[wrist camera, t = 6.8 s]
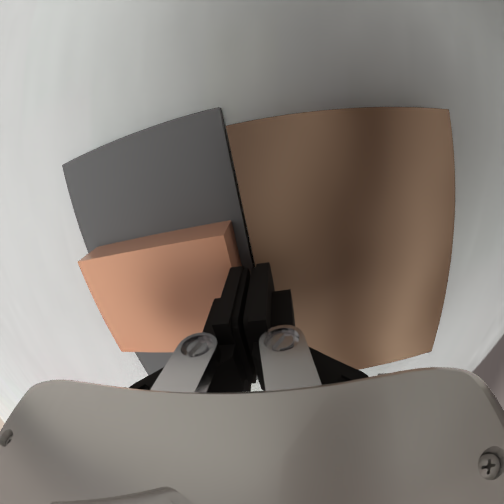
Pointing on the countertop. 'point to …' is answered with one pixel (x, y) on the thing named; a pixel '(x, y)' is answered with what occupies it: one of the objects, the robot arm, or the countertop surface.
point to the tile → (160, 284)
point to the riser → (353, 223)
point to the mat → (158, 189)
